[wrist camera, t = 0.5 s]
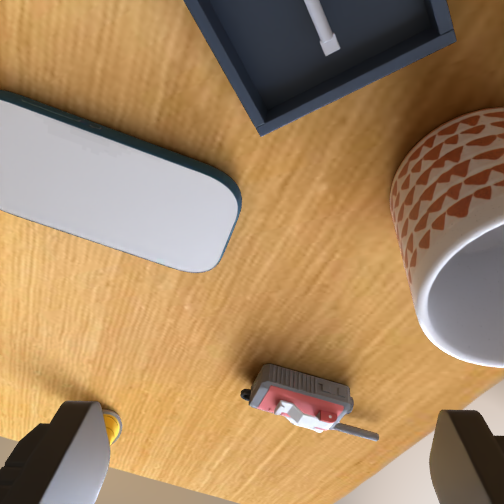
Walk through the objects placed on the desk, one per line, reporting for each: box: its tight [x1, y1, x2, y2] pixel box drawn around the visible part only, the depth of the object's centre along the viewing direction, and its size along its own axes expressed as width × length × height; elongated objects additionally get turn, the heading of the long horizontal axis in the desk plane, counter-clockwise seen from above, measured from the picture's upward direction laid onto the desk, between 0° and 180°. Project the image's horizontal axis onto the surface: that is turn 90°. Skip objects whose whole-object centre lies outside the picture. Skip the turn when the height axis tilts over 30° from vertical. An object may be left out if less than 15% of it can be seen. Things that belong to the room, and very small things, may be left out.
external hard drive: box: [0, 90, 242, 273], centre depth 38 cm, size 24×12×2 cm, turn 70°
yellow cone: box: [102, 409, 122, 445], centre depth 61 cm, size 5×5×10 cm
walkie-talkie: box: [241, 364, 379, 441], centre depth 54 cm, size 9×4×20 cm
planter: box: [390, 107, 504, 368], centre depth 30 cm, size 14×14×13 cm
